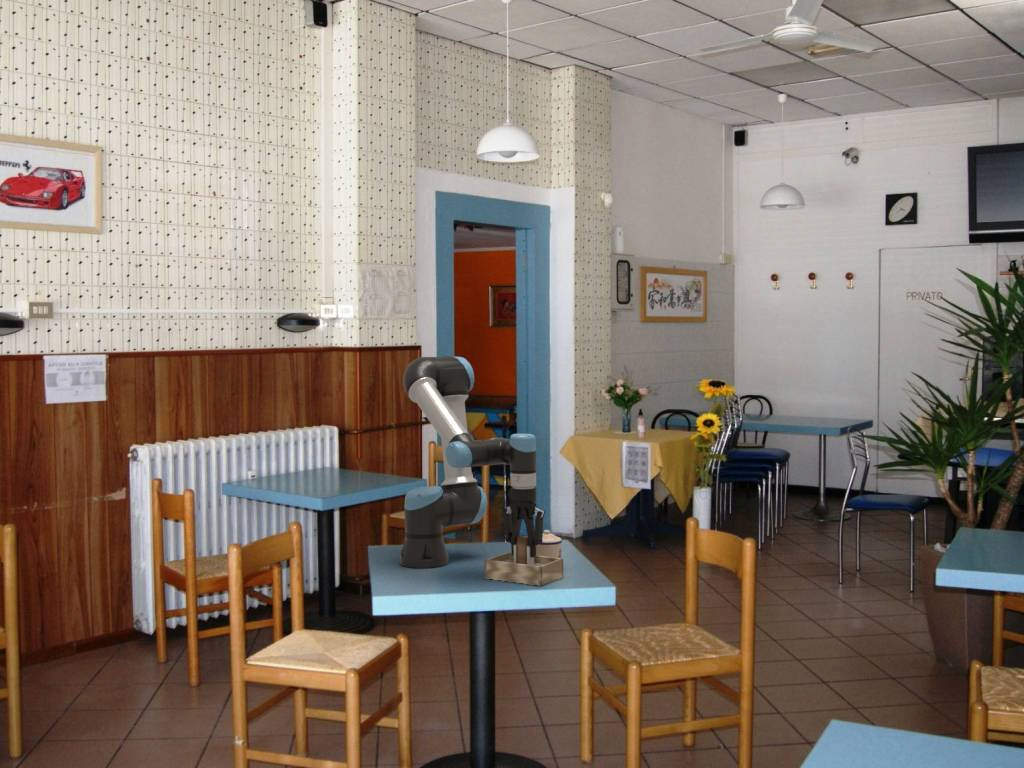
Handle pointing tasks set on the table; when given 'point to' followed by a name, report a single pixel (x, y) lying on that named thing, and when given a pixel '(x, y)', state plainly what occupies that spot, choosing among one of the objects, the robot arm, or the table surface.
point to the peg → (522, 549)
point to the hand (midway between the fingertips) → (523, 567)
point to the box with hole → (523, 569)
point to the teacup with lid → (549, 546)
